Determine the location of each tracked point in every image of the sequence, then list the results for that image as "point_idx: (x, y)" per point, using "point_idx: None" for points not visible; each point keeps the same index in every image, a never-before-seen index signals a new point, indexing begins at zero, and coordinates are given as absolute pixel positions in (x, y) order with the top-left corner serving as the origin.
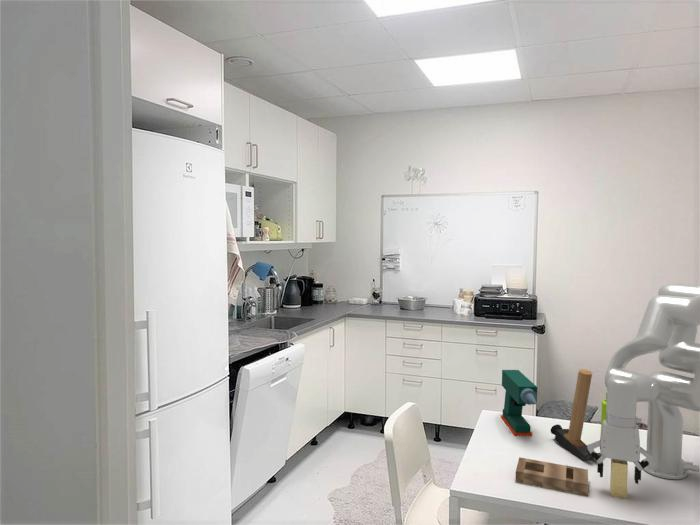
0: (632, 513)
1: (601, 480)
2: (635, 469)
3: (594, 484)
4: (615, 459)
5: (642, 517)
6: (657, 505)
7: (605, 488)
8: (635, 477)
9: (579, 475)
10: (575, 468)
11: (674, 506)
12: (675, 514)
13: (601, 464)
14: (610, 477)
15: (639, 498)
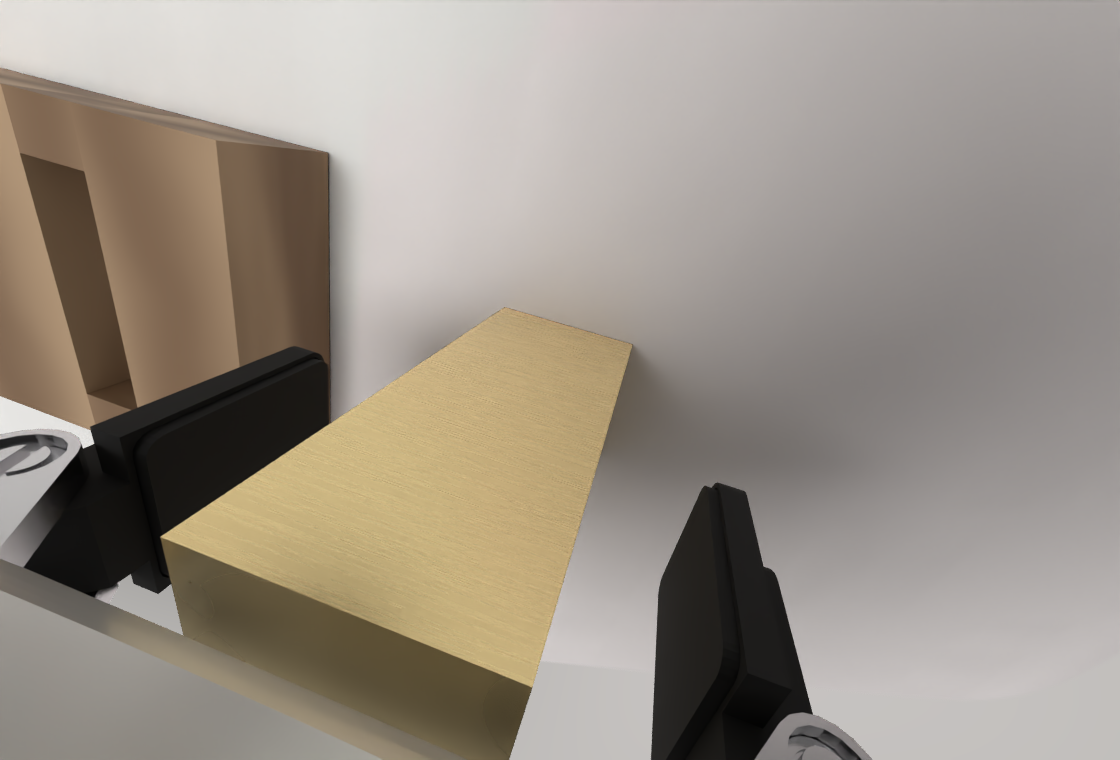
0: (570, 615)
1: (459, 109)
2: (674, 733)
3: (384, 228)
4: (261, 666)
5: (618, 652)
6: (829, 539)
7: (468, 294)
8: (660, 641)
9: (165, 331)
10: (96, 149)
11: (1003, 555)
12: (902, 647)
13: (147, 586)
14: (448, 347)
15: (721, 441)
